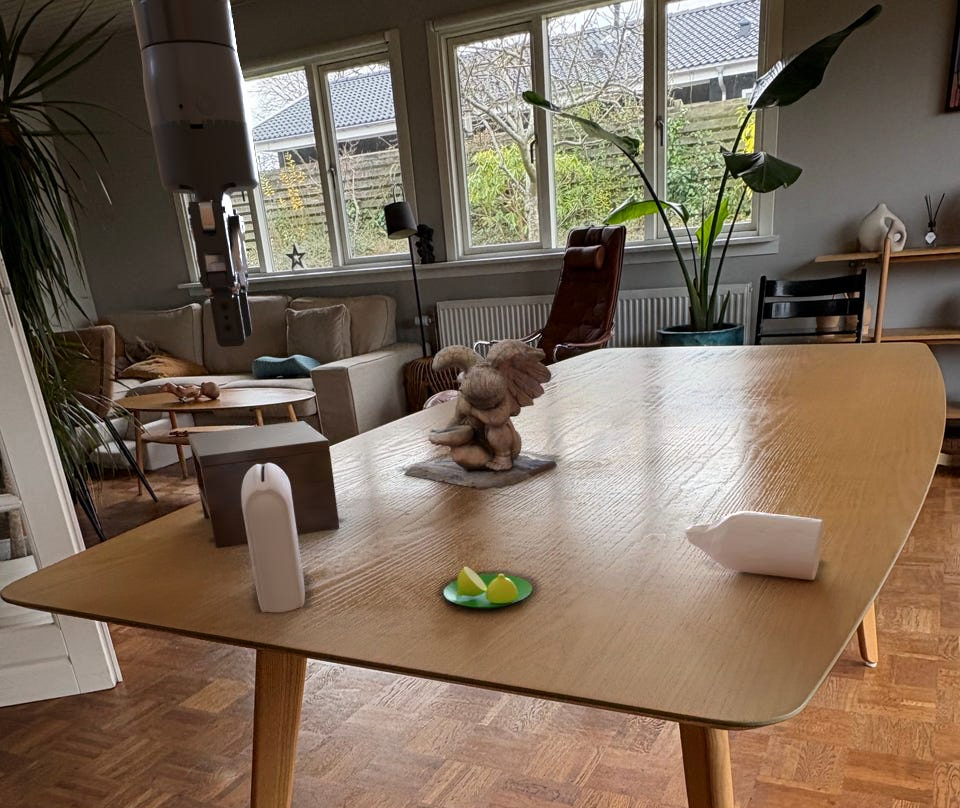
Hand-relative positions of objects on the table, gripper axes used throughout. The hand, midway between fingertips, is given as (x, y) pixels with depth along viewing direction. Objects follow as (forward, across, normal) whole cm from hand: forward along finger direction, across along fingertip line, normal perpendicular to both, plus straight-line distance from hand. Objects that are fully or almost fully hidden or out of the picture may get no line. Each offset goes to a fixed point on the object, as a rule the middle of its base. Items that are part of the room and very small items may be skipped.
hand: (236, 341), depth 72 cm
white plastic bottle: (+23, +10, +44) cm, 51 cm away
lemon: (+23, +9, +19) cm, 31 cm away
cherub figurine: (+23, -38, +28) cm, 52 cm away
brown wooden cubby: (+22, -22, -2) cm, 31 cm away
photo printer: (+23, +4, +1) cm, 23 cm away
